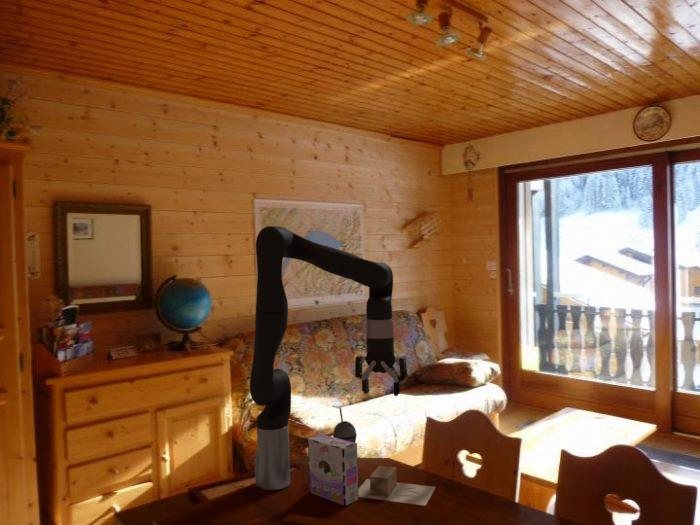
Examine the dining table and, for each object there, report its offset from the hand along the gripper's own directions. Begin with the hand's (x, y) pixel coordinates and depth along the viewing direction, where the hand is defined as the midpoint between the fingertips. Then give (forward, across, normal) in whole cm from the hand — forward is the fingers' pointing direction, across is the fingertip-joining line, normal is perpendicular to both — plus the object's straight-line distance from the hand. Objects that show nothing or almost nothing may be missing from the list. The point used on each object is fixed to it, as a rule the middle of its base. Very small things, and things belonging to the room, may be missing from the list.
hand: (381, 394), depth 150 cm
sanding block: (+26, 0, 0) cm, 26 cm away
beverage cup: (+28, -16, +12) cm, 34 cm away
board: (+28, +3, 0) cm, 28 cm away
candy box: (+28, -12, -7) cm, 31 cm away
